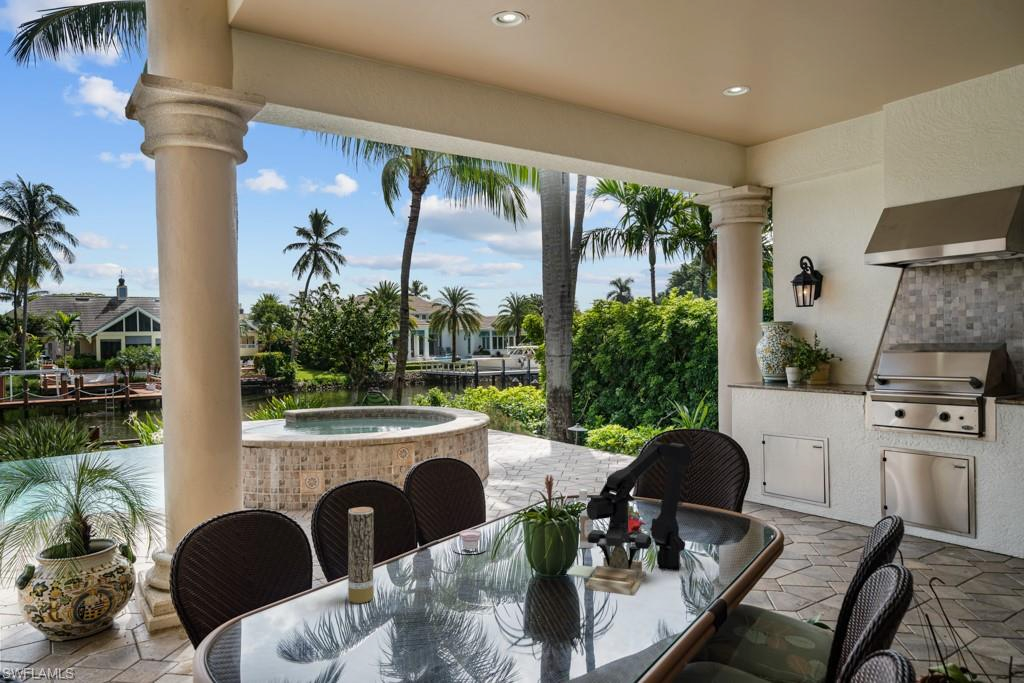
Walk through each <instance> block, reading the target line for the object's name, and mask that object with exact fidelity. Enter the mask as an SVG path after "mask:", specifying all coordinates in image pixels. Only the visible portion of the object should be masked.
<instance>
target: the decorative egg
mask: <svg viewBox="0 0 1024 683" xmlns="http://www.w3.org/2000/svg"><path fill="white" fill-rule="evenodd" d="M628 563H629V555H628V552H627V550H626V549H625V547H624V546H623V545H622V547H616V546H613V548H612V551H611V552H610V567H612V568H621V569H629V566H628Z"/></svg>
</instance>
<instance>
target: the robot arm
mask: <svg viewBox="0 0 1024 683" xmlns="http://www.w3.org/2000/svg"><path fill="white" fill-rule="evenodd" d="M663 456H664V462H665V465H666V470H667V473H666V479H665V483H664V491H663V497H662V502H661V507H660V512H659V515H658V516H657V518H655V517H653V518H651V519H652V520H651V527H650V528H649V529H650V530H649V531H650V532H651V533H650V535H651V536H650V535H649V534H640V533H639V534H637V536H631V533H629V516H628V506H629V502H633V501H635V498H634V496H632V495H631V494H630V493H631V492H632V491H633V489H634V488H635V487H636V484H637V481H638V479H639V478H640V477H641V476H642V475H644V473H645V472H646V471H648V470H649V469H650V468H651V467H652V466H653V465H654V464H656V462H657V461H659V460H660V459H661V458H662V457H663ZM692 457H693V451H692V449H691V447H690V446H689V445H686V444H681V443H675V442H671V443H669V444H665V443H663V442H658V441H653V442H651V444H649V446H648V447H647V448H646V449H645V450H644V451H643V452H642V453H640V454H639V455H638V456H636V458H635V459H634V460H633V461H631V463H629V464H628V465H627V466H626V467H624V468H621V469H618V470H616V471H614V472H612V473H611V474H609V476H607V478H606V482H605V483H604V486H603V487H602V489H601V491H600V493H599V495H598V496H590V500H588V504H587V507H586V511H587V515H588V517H589V518H590V519H591V520H593V521H596V520H603V519H609V521H608V528H607V531H606V533H605V531H604V530H601V529H593V530H592V531H591V532H590V533H589V534H588V543H593V544H595V545H596V546H597V547H599V548H600V549H601V551H602V553H603V554H604V557H605V558H606V561H607V564H608V566H610V557H611V547H615V546H616V547H622V546H623V544H630V547H629V548H628V549H629V552H628V553H629V555H628V559H629V563H628V566H629V569H630V568H631V565H632V562H633V560H635V559H634V558H635V556H636V553H637V551H640V550H641V549H643V550H649V548H650V547H651V545H652V539H653V541H654V544H655V546H657V547H658V549H659V550H658V551H657V555H656V556H657V561H656V562H657V565H658V566H657V568H658V569H660V570H661V569H662V570H667V571H668V570H669V571H677V572H679V571H680V569H681V567H682V563H681V552H682V551H684V550H685V549H686V542H685V541H684V540H683V539H682V538H681V536H680V535H679V532H680V527H679V524H678V521H677V513H678V506H679V501H680V494H681V490H682V483H683V476H684V473H685V471H686V470H687V469H688V467H689V466H690V465H691V460H692Z"/></svg>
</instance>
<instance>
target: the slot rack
mask: <svg viewBox="0 0 1024 683" xmlns="http://www.w3.org/2000/svg"><path fill="white" fill-rule="evenodd" d="M602 560H603V562H602V563H603V565H596V566H595V567H596V570H595V571H594V572H593V573H594V574H592V575H591V576H590V577H589V578H588V581H587V582H586V583H585V584H584V589H585V590H594V591H601V592H607V593H615V594H623V595H627V596H635V595H636V593H637V591H638V590H637V589H639V588H640V586H641V584H642V583H643V581H644V579H645V577H646V576H647V571H645V570H643V560H635V559H633V562H632V565H631V568H630V569H621V568H612V567H610V566H608V564H607V561H606V558H605V556H604V557H603V558H602ZM598 570H607V571H615V572H623V573H628V580H635V584H634V585H633V587H632V589H631V583H628V582H621V581H613V580H605V579H598V578H595V573H596V572H597V571H598ZM636 574H637V575H636ZM645 575H646V576H645ZM637 576H638V577H637ZM641 582H642V583H641Z"/></svg>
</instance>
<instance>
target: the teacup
mask: <svg viewBox="0 0 1024 683" xmlns="http://www.w3.org/2000/svg"><path fill="white" fill-rule="evenodd" d="M481 536H482V531H481V530H478V529H466V530H461V531H460V532H459V537H460V538H461V541H462V545H463V548H466V549H476V548H478V544H479V540H480V539H481ZM466 549H465V550H466ZM476 550H477V549H476Z"/></svg>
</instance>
